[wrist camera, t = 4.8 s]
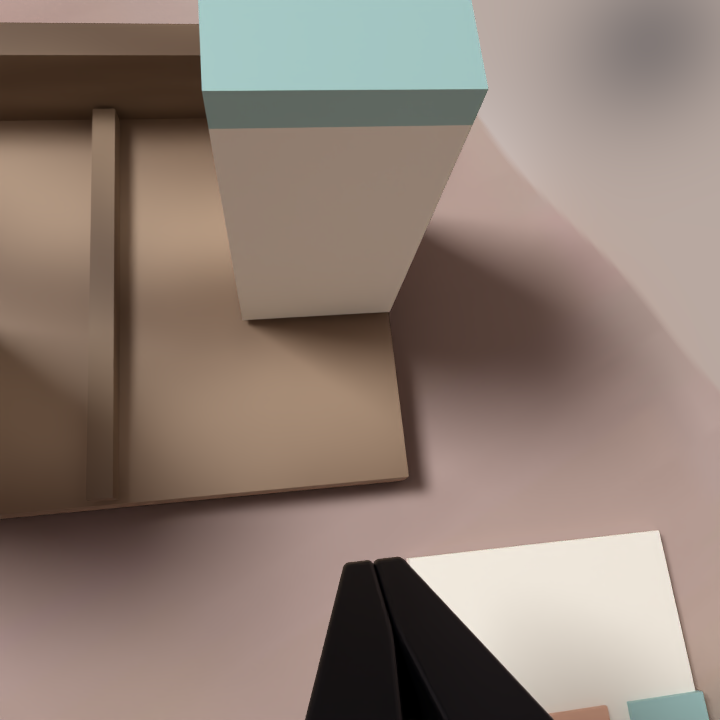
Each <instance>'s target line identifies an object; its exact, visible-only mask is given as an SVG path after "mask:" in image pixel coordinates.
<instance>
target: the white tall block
mask: <svg viewBox="0 0 720 720" xmlns="http://www.w3.org/2000/svg"><path fill="white" fill-rule="evenodd" d="M198 6H199V31H200V56H201V81H202V94H203V100H204V106H205V111H206V117H207V122H208V128H209V134H210V139H211V145H212V151H213V156H214V162H215V168H216V173H217V179H218V184H219V190H220V196H221V201H222V207H223V213H224V218H225V224H226V230H227V235H228V241H229V246H230V252H231V258H232V263H233V269H234V275H235V280H236V286H237V292H238V297H239V303H240V308H241V314H242V320H255V319H272V318H290V317H308V316H325V315H343V314H361V313H378V312H390V310H391V308H392V306H393V303H394V301H395V299H396V297H397V294H398V292H399V290H400V288H401V285H402V283H403V281H404V279H405V276H406V274H407V272H408V270H409V267H410V265H411V263H412V260H413V258H414V256H415V254H416V251H417V249H418V247H419V245H420V242H421V240H422V238H423V236H424V233H425V231H426V229H427V227H428V224H429V222H430V220H431V217H432V215H433V213H434V211H435V208H436V206H437V204H438V202H439V199H440V197H441V195H442V193H443V190H444V188H445V186H446V184H447V181H448V179H449V177H450V174H451V172H452V170H453V168H454V165H455V163H456V161H457V159H458V156H459V154H460V152H461V150H462V147H463V145H464V143H465V141H466V138H467V136H468V134H469V132H470V129H471V127H472V125H473V122H474V120H475V118H476V116H477V113H478V111H479V109H480V107H481V104H482V102H483V100H484V98H485V95H486V93H487V91H488V86H487V80H486V75H485V69H484V64H483V59H482V54H481V49H480V43H479V38H478V33H477V28H476V23H475V18H474V12H473V7H472V1H471V0H198Z"/></svg>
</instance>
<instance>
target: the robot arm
mask: <svg viewBox="0 0 720 720" xmlns="http://www.w3.org/2000/svg"><path fill="white" fill-rule="evenodd" d="M305 720H554V719H553V718H552V717H551V716H550V715H549V714H548V713H547V712H546V711H545V709H544V708H543V707H542V706H541V705H540V704H539V703H538V702H537V701H536V700H535V699H534V698H533V697H532V696H531V694H530V693H529V692H528V691H527V690H526V689H525V688H524V687H523V686H522V685H521V684H520V683H519V682H518V681H517V680H516V678H515V677H514V676H513V675H512V674H511V673H510V672H509V671H508V670H507V669H506V668H505V667H504V666H503V665H502V664H501V662H500V661H499V660H498V659H497V658H496V657H495V656H494V655H493V654H492V653H491V652H490V651H489V650H488V649H487V647H486V646H485V645H484V644H483V643H482V642H481V641H480V640H479V639H478V638H477V637H476V636H475V635H474V634H473V633H472V631H471V630H470V629H469V628H468V627H467V626H466V625H465V624H464V623H463V622H462V621H461V620H460V619H459V618H458V616H457V615H456V614H455V613H454V612H453V611H452V610H451V609H450V608H449V607H448V606H447V605H446V604H445V603H444V602H443V600H442V599H441V598H440V597H439V596H438V595H437V594H436V593H435V592H434V591H433V590H432V589H431V588H430V587H429V585H428V584H427V583H426V582H425V581H424V580H423V579H422V578H421V577H420V576H419V575H418V574H417V573H416V572H415V571H414V569H413V568H412V567H411V566H410V565H409V564H408V563H407V562H406V561H405V560H404V559H403V558H401V557H392V558H383V559H377V560H376V561H374V563H372V562H371V561H370V560H366V561H357V562H349V563H346V564H345V565H344V567H343V570H342V574H341V578H340V582H339V586H338V590H337V594H336V598H335V602H334V606H333V610H332V614H331V618H330V622H329V626H328V630H327V634H326V638H325V642H324V646H323V650H322V654H321V658H320V662H319V666H318V670H317V674H316V678H315V682H314V686H313V690H312V694H311V698H310V702H309V706H308V710H307V714H306V718H305Z"/></svg>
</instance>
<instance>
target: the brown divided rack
mask: <svg viewBox="0 0 720 720" xmlns="http://www.w3.org/2000/svg"><path fill="white" fill-rule="evenodd" d="M407 477H409V474H408V466H407V458H406V450H405V442H404V434H403V426H402V418H401V409H400V401H399V393H398V385H397V377H396V369H395V361H394V353H393V345H392V337H391V329H390V321H389V313H388V312H378V313H361V314H343V315H325V316H308V317H290V318H272V319H255V320H242V314H241V308H240V303H239V297H238V292H237V286H236V280H235V275H234V269H233V263H232V258H231V252H230V246H229V241H228V235H227V230H226V224H225V218H224V213H223V207H222V201H221V196H220V190H219V184H218V179H217V173H216V168H215V162H214V156H213V151H212V145H211V139H210V134H209V128H208V122H207V117H206V111H205V106H204V100H203V94H202V81H201V56H200V31H199V24H119V23H0V519H5V518H16V517H26V516H37V515H47V514H58V513H68V512H79V511H89V510H100V509H110V508H121V507H131V506H142V505H152V504H163V503H173V502H184V501H195V500H205V499H216V498H226V497H237V496H247V495H258V494H268V493H279V492H289V491H300V490H310V489H321V488H331V487H342V486H352V485H363V484H373V483H384V482H395V481H402V480H404V479H406V478H407Z"/></svg>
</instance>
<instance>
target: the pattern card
mask: <svg viewBox="0 0 720 720" xmlns="http://www.w3.org/2000/svg"><path fill="white" fill-rule="evenodd" d="M406 559H407V563H408V564H409V565H410V566H411V567H412V568H413V569H414V571H415V572H416V573H417V574H418V575H419V576H420V577H421V578H422V579H423V580H424V581H425V582H426V583H427V584H428V585H429V587H430V588H431V589H432V590H433V591H434V592H435V593H436V594H437V595H438V596H439V597H440V598H441V599H442V600H443V602H444V603H445V604H446V605H447V606H448V607H449V608H450V609H451V610H452V611H453V612H454V613H455V614H456V615H457V616H458V618H459V619H460V620H461V621H462V622H463V623H464V624H465V625H466V626H467V627H468V628H469V629H470V630H471V631H472V633H473V634H474V635H475V636H476V637H477V638H478V639H479V640H480V641H481V642H482V643H483V644H484V645H485V646H486V647H487V649H488V650H489V651H490V652H491V653H492V654H493V655H494V656H495V657H496V658H497V659H498V660H499V661H500V662H501V664H502V665H503V666H504V667H505V668H506V669H507V670H508V671H509V672H510V673H511V674H512V675H513V676H514V677H515V678H516V680H517V681H518V682H519V683H520V684H521V685H522V686H523V687H524V688H525V689H526V690H527V691H528V692H529V693H530V694H531V696H532V697H533V698H534V699H535V700H536V701H537V702H538V703H539V704H540V705H541V706H542V707H543V708H544V709H545V711H546V712H547V713H548V714H549V715H550V716H551V717H552V718H553V719H554V720H709V717H708V712H707V708H706V704H705V699H704V695H703V692H702V691H699V690H696V691H695V687H694V682H693V678H692V674H691V669H690V665H689V660H688V656H687V652H686V647H685V643H684V638H683V634H682V630H681V625H680V621H679V617H678V612H677V608H676V603H675V599H674V595H673V590H672V586H671V582H670V577H669V573H668V568H667V564H666V560H665V555H664V551H663V546H662V542H661V538H660V533H659V530H657V531H645V532H636V533H628V534H619V535H610V536H601V537H592V538H583V539H574V540H565V541H557V542H548V543H539V544H530V545H521V546H512V547H503V548H494V549H486V550H477V551H468V552H459V553H450V554H441V555H432V556H423V557H415V558H406Z"/></svg>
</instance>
